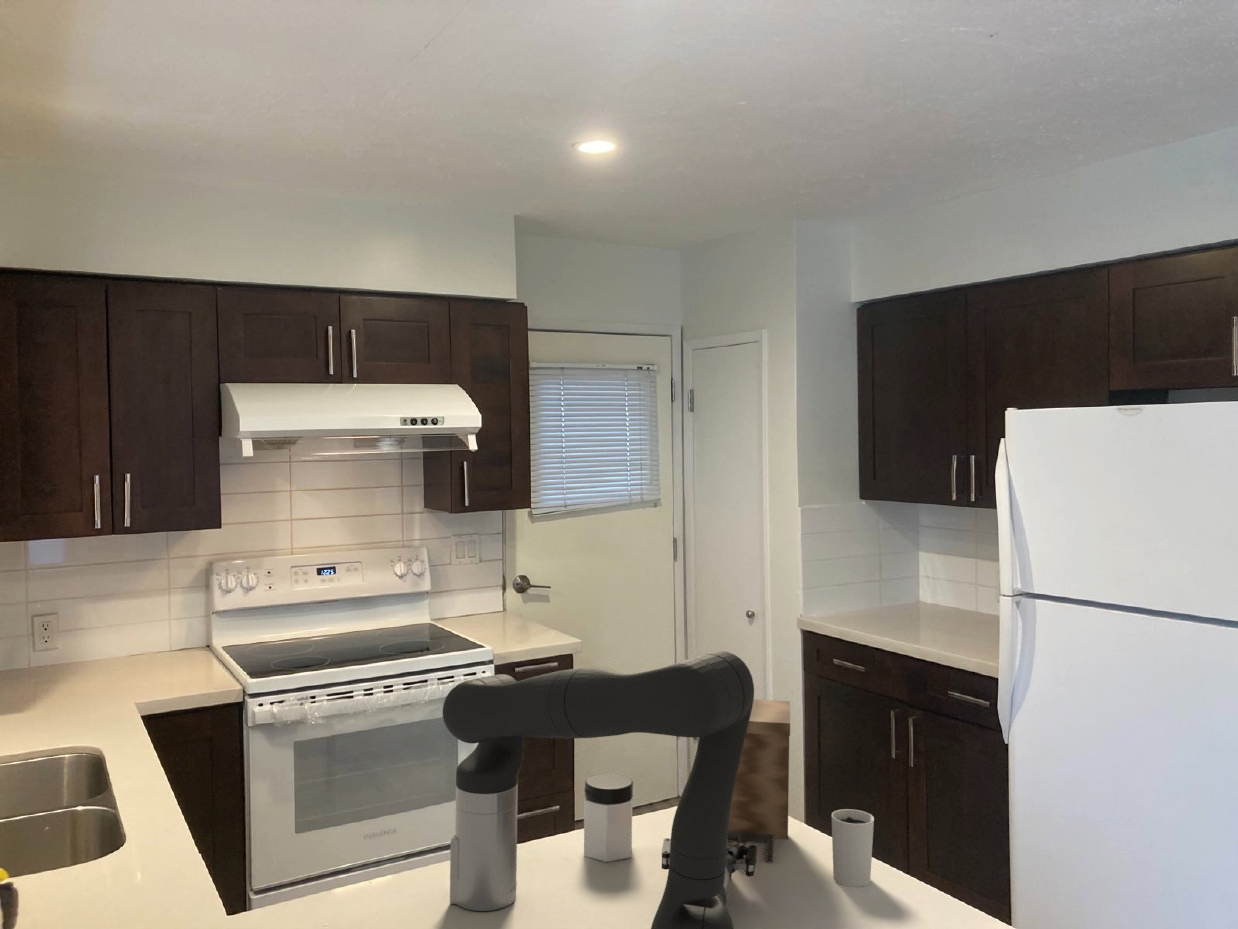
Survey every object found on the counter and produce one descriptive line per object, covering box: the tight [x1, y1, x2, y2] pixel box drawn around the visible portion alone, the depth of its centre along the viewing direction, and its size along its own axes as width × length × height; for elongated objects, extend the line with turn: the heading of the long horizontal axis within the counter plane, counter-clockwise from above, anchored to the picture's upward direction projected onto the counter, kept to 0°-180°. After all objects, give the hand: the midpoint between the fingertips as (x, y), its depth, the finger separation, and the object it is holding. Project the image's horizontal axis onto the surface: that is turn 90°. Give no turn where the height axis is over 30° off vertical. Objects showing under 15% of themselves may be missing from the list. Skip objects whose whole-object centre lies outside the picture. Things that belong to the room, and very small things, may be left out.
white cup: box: [831, 808, 875, 888], centre depth 157 cm, size 7×7×10 cm
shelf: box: [727, 699, 791, 864], centre depth 169 cm, size 14×16×24 cm
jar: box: [583, 773, 634, 863], centre depth 166 cm, size 9×8×12 cm
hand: (712, 838), depth 156 cm, fingers open, 8 cm apart
